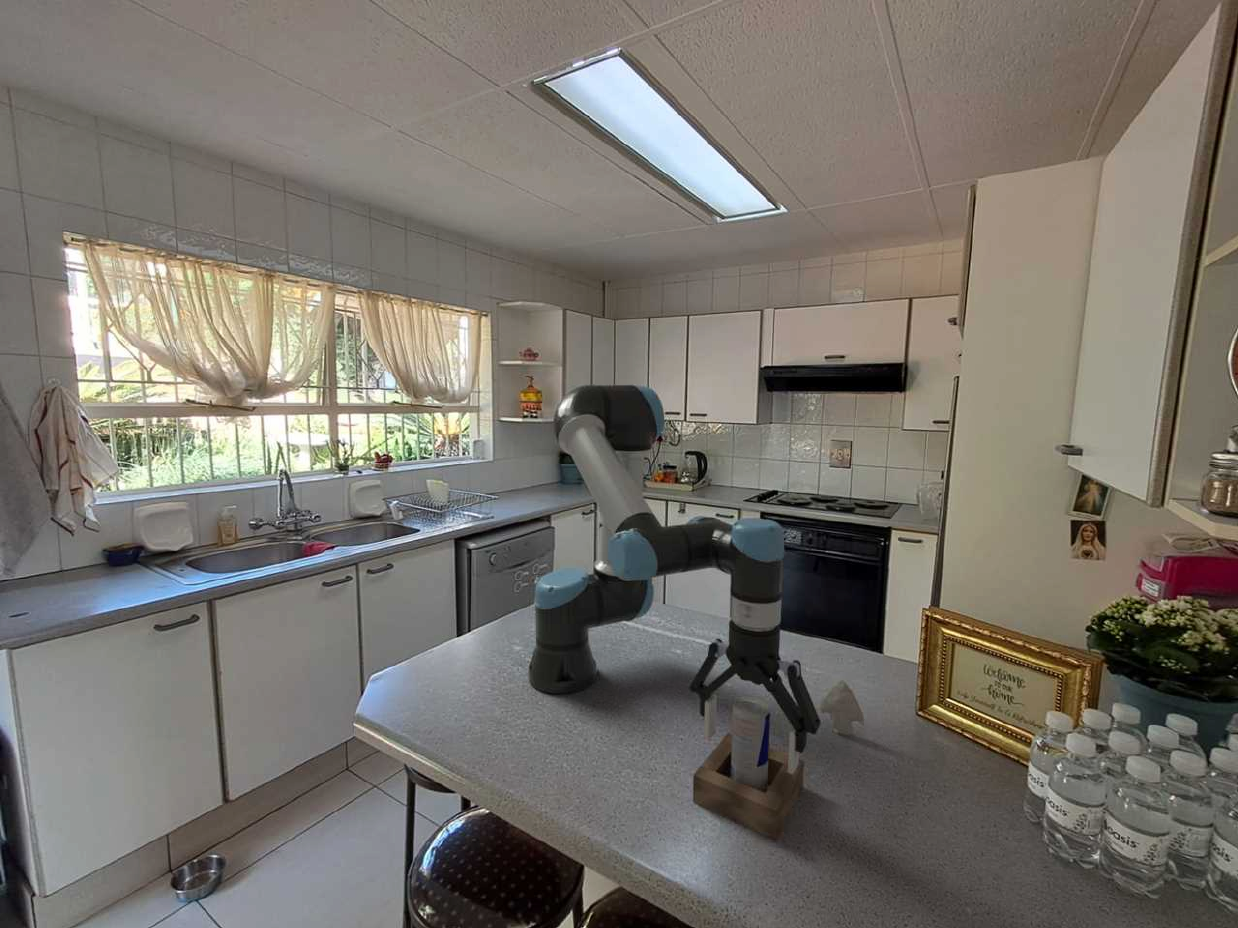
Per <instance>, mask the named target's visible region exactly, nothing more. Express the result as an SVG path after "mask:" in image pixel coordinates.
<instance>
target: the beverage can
mask: <svg viewBox="0 0 1238 928" xmlns="http://www.w3.org/2000/svg"><path fill="white" fill-rule="evenodd" d="M732 703H733V704H732V705H733V707H732V723H731V724H732V725H731V734H732V752H731V777H730V778H731V779H733V780H735V781H738V782H740V783H742V784H745V785H747V786H749V787H752V788H754V789H757V790H759V791H761V792H764V793H766V792H767V790H768V783H767V781H768V754H769V748H770V728H771V727H770V726H771V725H770V721H771V720H770V718H771V713H770V710H771V709H770V706H769V705H768V703H766V702H765V701H764V700H762V699H760V698H756V697H752V696H741V697H737V698H736V699H734V700H733V702H732Z"/></svg>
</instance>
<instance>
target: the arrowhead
mask: <svg viewBox="0 0 1238 928" xmlns="http://www.w3.org/2000/svg"><path fill="white" fill-rule="evenodd" d="M819 711H820V713H821V714H825V713H827V714H829V716H830V717H829V718H830V719H829V720H830V721H831V723H832V725H833V728H834V729H835V730H836V732H837V733H838V734H841V735H843V736H846V737H847V736H851V735H852V736H853V735H854V734H855V729H854V727H853V722H858V723H860V724H861V725H862V726H864V725H865V716H864V712H863V711H862V709H861V707H860V703H859V702H858V700H857V699H856V696H855V694H854V692H853V690H852V689H851V688H850V687H849V685H848V683H846V682H845V681H844V680H842V679H841V680H839V681H838V682H837V683H836V684H835V685H833V686H832V687H831V689H830V690H829V691H828V692H827V694H826V696H825V697H824V698H823V699H822V701H821V703H820V705H819Z"/></svg>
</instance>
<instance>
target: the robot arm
mask: <svg viewBox="0 0 1238 928" xmlns="http://www.w3.org/2000/svg"><path fill="white" fill-rule="evenodd" d="M552 424H553V433H554V435H555V439H556V441H557V444H558V445H559V447H560V448H561V450H562V451H563V452H564V453H565V454H567V455H569V456H571V458H572V460H573V462H574V465H576V467H577V470H578V471H579V474H580V475H581V478H582V479H583V480H584V483H585V485H586V486H587V488H588V490H589V492H590V495H591V496H592V497H593V500H594V502H595V503H596V505H597V507H598V510H599V511H600V513H601V515H602V525H601V528H602V529H601V545H600V546H601V548H600V549H601V550H600V557H598V558H597V559H596V560H595V561H594V563H593V572H592V574H589V573H588V572H587V571H585V570H584V569H580V568H562V569H558V570H554V571H551V572H549V573H547V574H545V575H543V576H541V578H540V579H539V580H538V581H537V583H536V585H535V592H534V593H535V595H534V601H533V603H534V606H535V607H534V609H535V610H534V611H535V613H534V615H535V617H534V618H535V645H534V650H533V653H532V655H531V659H530V662H529V666H528V682H529V684H530V685H531V686H532V687H533V688H535V689H536V690H538V691H541V692H544V693H548V694H557V695H559V694H561V695H562V694H571V693H575V692H579V691H583V690H584V689H586V688H588V687H589V686H590V685H592V684H593V683H594V682H595V680H596V679H597V662H596V660H595V659H594V656H593V652H592V649H591V646H590V644H589V630H590V629H592V628H597V627H602V626H608V625H613V624H617V623H622V622H627V623H628V622H631V621H633V620H635V619H636V620H637V619H639V618H642V617H644V616H645V615H647V614H648V612H649V611H650V609H651V608H652V605H653V601H654V595H655V594H654V592H655V591H654V590H655V589H654V588H655V587H654V584H653V578H658V577H663V576H667V575H675V574H681V573H687V572H692V571H693V572H695V571H700V570H705V569H716V570H718V571H720V572H722V573H724V574H726V575H730V588H729V618H730V620H729V623H728V644H725V643H723V641H722V639H721V638H716V639H715V640H713V641H712V642H711V643H710V644H709V646H708V651H707V656H706V658H705V660H704V661H703V663H702V665H701V666H700V668H699V670H698V672H697V673H696V675H695V676H694V678H693V680H692V682H691V683H690V685H689V688H688V689H689V691H690V692H691V693H695V694H697V695H698V697H699V698H700V699H699V702H700V703H699V714H700V716H701V717H704V725H703V726H704V732H703V734H704V735H703V740H705V741H708V742H709V741H710V740H711V738H712V737H714V736H715V734H716V729H717V728H716V727H717V694H713V693H714V692H715V691H717V690H718V689H719V688H721V686H723V685H724V684H725V683H727V682H728V680H729V681H730V679H731V678H732V677H734V676H735V675H736V676H738V677H739V679H740V680H742V681H745V682H747V681H748V682H751V683H753V684H754V685H757V686H761V685H763V687H764V688H765V690H766V691H767V692H768V693H770V694H771V696H772V698H773V699H774V700H775V702H776V703H777V705H778V706H779V708H780V709H781V712H783V714H784V716H785V717H786V718H787V720H788V721H789V724H790V725H791V726H792V727H791V729H790V731H789V736H788V737H789V740H788V755H789V756H788V773H790V774H793V773H794V771H795V770H796V768H797V766H798V763H799V759H800V758H799V757H800V754H802V753H803V752H804V751H805V748H806V746H807V739H808V733H810V734H811V735H815V734H816V733H817V732H818V730H819V728H820V727H821V724H822V721H821V719H820V717H819V715H818V711H817V710H816V707H815V705H814V702H813V699H812V698H811V696H810V693H809V690H808V688H807V685H806V684H805V681H804V679H803V677H802V664H801V662H800V661H799V660H797V659H794V660H793V661H791V662H789V661H784V660H781V657H780V640H781V626H780V624H781V621H782V620H781V619H782V614H781V613H782V589H783V588H782V587H783V573H784V572H783V571H784V570H783V569H784V557H785V552H786V551H785V545H784V544H785V543H784V542H785V541H784V540H785V539H784V528H783V527H782V526H781V524H779V522H776V521H775V520H771V519H763V518H760V517H759V518H757V517H746V518H741V519H737V520H735V521H734V522H733V524H731V523H728V522H725V521H723V520H721V519H719V518H716V517H712V516H709V517H708V516H705V515H699V516H698V515H697V516H694V517H693V518H691V519H690V520H688V521H687V522H686V523H684V524H675V525H668V526H667V525H666V526H663V525H661V523H660V522H659V520H658V518H657V517H656V515H655V514H654V512H653V510H652V509H651V507H650V506H649V504H648V503H647V501H646V499H645V498H644V495H643V483H644V467H645V456H647V455H648V453H650V452H651V451H652V448H653V447H652V445H653V440H656V439H657V438H659V437H660V436H661V435H662V432H663V431H664V428H665V413H664V408H663V403H662V401H661V399H660V397H659V396H658V394H657V393H656V391H655V390H653V388H650V387H649V386H646V385H645V386H643V385H635V384H615V385H613V384H610V385H609V384H608V385H607V384H606V385H602V384H601V385H599V384H598V385H596V384H585V385H581V386H578V387H575V388H573V389H572V390H570V391H569V392H568V393H566V395H564V397H563V398H562V399H561V400H560V402H559V403H558V405H557V407H556V410H555V412H554V416H553V423H552ZM723 655H725V656H726V658H727V660H728V661H729V664H730V666H728V668H727V669H725V670H724V671H723V672H722V673H721V674H719V675H718V676H717V677H716V678H714V679H713V680H712V681H711V682H709V684H707V685H705V684H704V683H705V681H706V679H707V678H708V677H709V674H710V673H711V671H712V670H713V668H714V666H715V665H716V663H717V661H718V659H719V658H721V657H723ZM779 671H782V672H783V674H784V678H785V679H787V681H788V685H789V688H790V690H791V692H792V695H793V696H792V695H791V693H790V692H789V691H788V689H787V688H786V686H785V685H784V683H783V679H782V677H781V675H780V674H779V673H778V672H779ZM794 699H795V700H794Z"/></svg>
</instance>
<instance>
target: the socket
mask: <svg viewBox="0 0 1238 928" xmlns="http://www.w3.org/2000/svg"><path fill="white" fill-rule="evenodd" d="M731 752H732V732H731V733H730V732H727V733H726V735H724V737H723V738H722V739H721V741H719V743H718V744H717V746H716V747H715V748H714V749H713V750H712V752H711V753H710V754H709V755H708V756H707V758H706V759H705V760H704V761H703V762H702V764H701V765H700V766H699V767H698V769H697V770H696V771H695V772H694V774H693V778H692V780H693V783H692V802H693V803H695V804H697V805H699V806H702V807H704V808H706V809H708V810H710V811H712V812H714V813H717V814H718V815H721V816H723V817H726V818H727V819H729V820H731V821H733V822H736V823H738V824H740V825H742V826H744V827H746V828H748V829H750V830H753V831H754V832H756V833H758V834H759V833H760V834H761V835H763V836H766V837H768V838H770V839H772V840H773V841H776V840H777V838H778V836H779V835H780V832H781V830H782V829H783V826H784V825H785V822H786V821H787V819H788V817H789V814H790V812H791V811H792V809H793V807H794V805H795V803H796V801H797V800H798V798H799V795H800V793H801V791H802V790H803V787H804V773H805V772H804V771H805V769H804V768H805V761H804V760H802V759H800V758H799V763H798V766H797V768H796V770H795V771H794V773H793V774H790V773H788V756H789V754H787V753H784V752H781V751H779V750H775V749H773V748H770V747H769V754H768V781H767V785H769V787H768V788H767V792H766V793H764V792H761V791H759V790H757V789H754V788H752V787H749V786H747V785H745V784H742V783H740V782H738V781H735V780H733V779H731Z"/></svg>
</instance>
